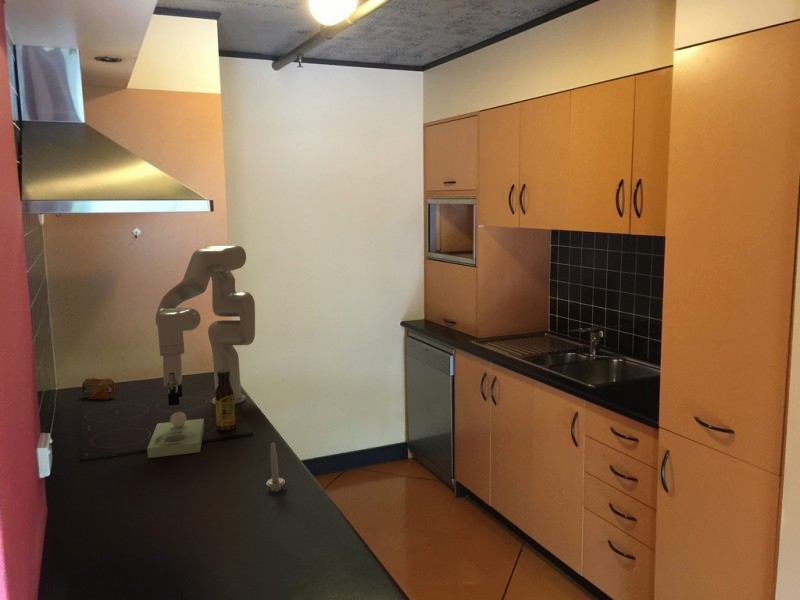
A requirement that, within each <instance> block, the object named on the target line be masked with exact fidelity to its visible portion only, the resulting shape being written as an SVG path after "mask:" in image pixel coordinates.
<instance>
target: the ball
mask: <svg viewBox="0 0 800 600" xmlns="http://www.w3.org/2000/svg"><path fill="white" fill-rule="evenodd" d="M186 420H187V416H186V414H185V413H184V412H182V411H176V412H174V413H173V414H172V415H171V416H170V421H169V422H171V424H172V425H173V426H175V427H181V426H183V425H184V424H185V423H186Z"/></svg>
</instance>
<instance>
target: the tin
mask: <svg viewBox="0 0 800 600" xmlns="http://www.w3.org/2000/svg"><path fill="white" fill-rule="evenodd" d="M81 390H82V393H83V395H84V396H85V397H86V398H88V399H90V400H109V399H112V398H113V397H114V396H115V395H116V393H117V385H116V383H115V381H114V380H113V379H112V378H106V377H105V378H104V377H90V378H86V379H85V380H84V381H83V382H82V385H81Z"/></svg>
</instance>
